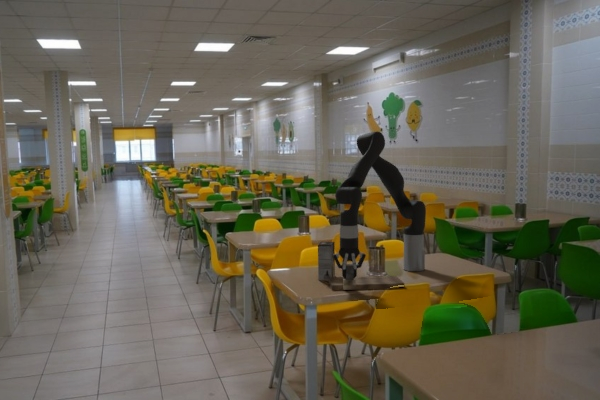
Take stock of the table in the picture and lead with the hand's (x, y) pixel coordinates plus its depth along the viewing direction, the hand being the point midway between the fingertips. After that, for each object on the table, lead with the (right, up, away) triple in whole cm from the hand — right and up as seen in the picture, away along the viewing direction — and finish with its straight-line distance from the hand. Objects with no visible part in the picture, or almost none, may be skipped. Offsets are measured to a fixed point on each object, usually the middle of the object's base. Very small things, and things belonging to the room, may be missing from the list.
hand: (349, 277), depth 213 cm
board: (+8, -4, +9) cm, 12 cm away
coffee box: (-8, -4, +22) cm, 24 cm away
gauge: (0, -4, +5) cm, 7 cm away
